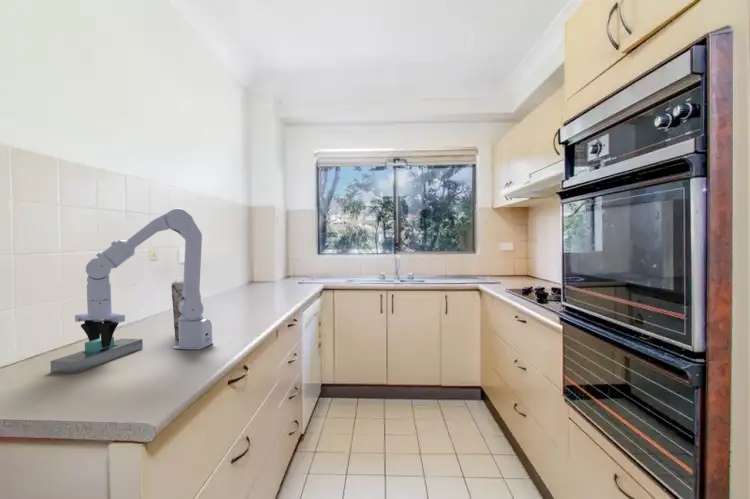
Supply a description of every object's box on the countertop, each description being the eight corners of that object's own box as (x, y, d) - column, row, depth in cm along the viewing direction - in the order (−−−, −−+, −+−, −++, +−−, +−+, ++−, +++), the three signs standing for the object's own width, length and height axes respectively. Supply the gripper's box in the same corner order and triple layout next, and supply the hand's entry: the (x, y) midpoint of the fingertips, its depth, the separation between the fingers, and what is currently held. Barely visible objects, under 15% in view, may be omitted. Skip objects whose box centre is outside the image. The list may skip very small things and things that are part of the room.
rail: (142, 348, 128) (142, 339, 128) (75, 373, 104) (75, 362, 104) (121, 347, 129) (121, 338, 129) (50, 372, 105) (50, 361, 105)
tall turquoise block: (105, 353, 120) (104, 336, 120) (114, 353, 119) (113, 336, 119) (85, 360, 113) (84, 342, 113) (94, 360, 112) (94, 342, 112)
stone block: (195, 338, 141) (193, 281, 140) (172, 340, 138) (171, 282, 137) (194, 330, 153) (193, 278, 152) (174, 332, 150) (172, 279, 149)
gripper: (64, 301, 113) (66, 349, 113) (110, 302, 111) (111, 351, 111) (86, 298, 120) (87, 343, 120) (129, 298, 118) (131, 344, 118)
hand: (100, 346), depth 116 cm, fingers closed on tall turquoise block, 3 cm apart
